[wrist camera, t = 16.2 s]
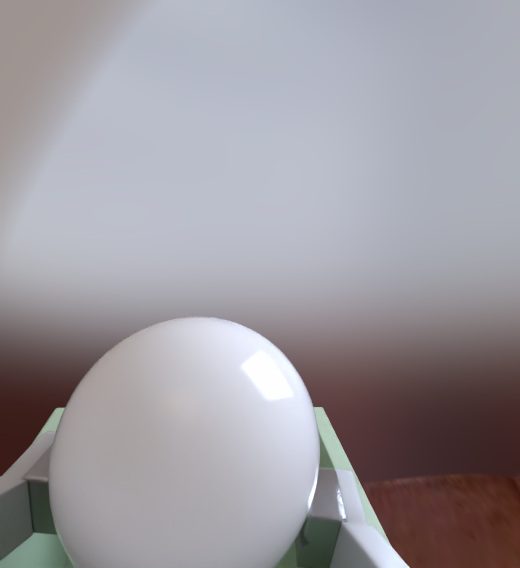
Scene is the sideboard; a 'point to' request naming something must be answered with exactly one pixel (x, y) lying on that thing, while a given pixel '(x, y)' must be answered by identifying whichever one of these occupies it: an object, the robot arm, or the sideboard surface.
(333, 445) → the bin
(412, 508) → the sideboard surface
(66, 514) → the lightbulb
